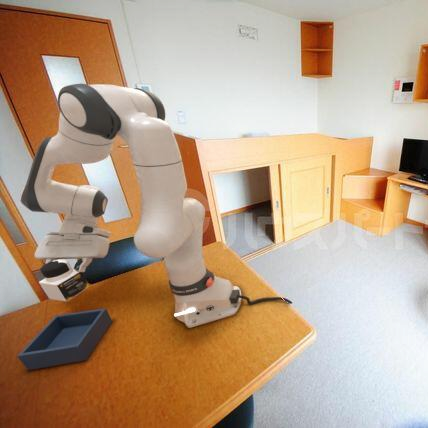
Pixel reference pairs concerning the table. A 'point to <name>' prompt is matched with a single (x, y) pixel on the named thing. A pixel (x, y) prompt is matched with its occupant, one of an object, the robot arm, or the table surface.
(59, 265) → the medicine bottle
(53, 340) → the bin
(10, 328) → the table surface
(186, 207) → the robot arm
